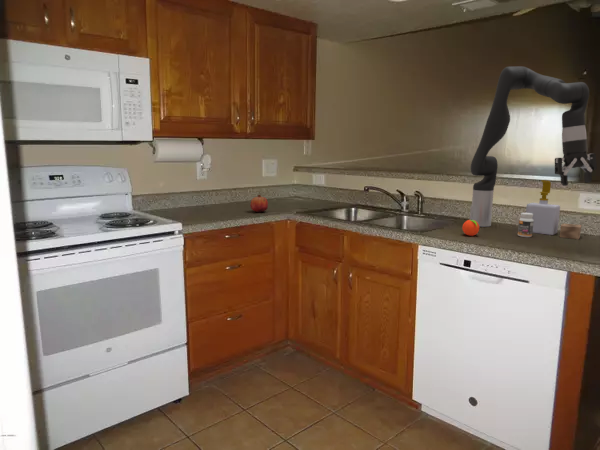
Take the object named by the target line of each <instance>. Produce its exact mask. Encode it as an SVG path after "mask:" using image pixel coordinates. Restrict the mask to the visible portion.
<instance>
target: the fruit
mask: <svg viewBox="0 0 600 450" xmlns="http://www.w3.org/2000/svg"><path fill="white" fill-rule="evenodd" d="M268 208H269V201H268V200H267V198H266V197H264V196H262V195H261V194H257V196H255V197H253V198H252V199H251V201H250V209H251V210H252V211H253V212H257V213H263V212H266V211H267V210H268Z"/></svg>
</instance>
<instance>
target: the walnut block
mask: <svg viewBox="0 0 600 450" xmlns="http://www.w3.org/2000/svg"><path fill="white" fill-rule="evenodd" d="M581 231H582V224H574V223H573V224H571V223H561V225H560V230H559V238H564V239H571V240H579V239H580V237H581Z"/></svg>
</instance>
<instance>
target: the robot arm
mask: <svg viewBox="0 0 600 450" xmlns="http://www.w3.org/2000/svg"><path fill="white" fill-rule="evenodd" d="M589 88H590V87H589V86H588V84H587V83H586V82H583V81H577V82H568V83H567V82H565V80H563V79H561V78H557V77H553V76H549V75H543V74H541V73H538V72H536V71H534V70H533V69H531V68H528V67H526V66H521V65H519V66H511V65H510V66H506V67H504V68H503V69H502V70H501V72H500V75H499V78H498V81H497V85H496V89H495V95H494V99H493V100H492V101H493V102H492V105H491V108H490V111H489V115H488V117H487V119H486V123H485V126H484V129H483V133H482V134H481V138H480V142H479V144H478V146H477V148H476V150H475V152H474V155H473V158H472V159H471V163H470V172H471V174H472V175H473V176H476V177H477V176H478V177H480V176H481V177H482V176H483V178H482V179H481V180H479V181H478V182H475V183H473V185H472V198H471V205H470V206H469V207H470V210H469V220H471V219H472V220H475V221H476V222H477V223H478V224H479V228H480V227H483V228H484V227H487V228H488V227H491V226H492V215H493V214H492V213H493V204H494V203H493V202H494V193H495V192H494V190H495V187H496V186H495V185H496V182H497V181H496V180H497V173H498V160H497V158H496V157H495V156H492V155H491V156H490V155H489V156H488V154H489V152H490V151H491V149H492V148H493V147H495V145H496V144H498V143H499V142H500V141H501V140H502V139H503V138H504V136H505V135H506V134H507V131H508V128H509V125H510V122H511V115H510V114H511V113H510V111H509V106H508V98H509V95H510V92H511V90H513V91H514V90H522V89H525V90H526V89H527V90H528V89H529V90H534V91H535V93H536V94H539V95H541V96H544V97H547V98H550V99H552V100H553V101H554V102H556V103H558V104H562V105H563V104H564V105H565V104H566V105H567V104H571V106H570V109H568V110H565V111H564V112H563V113H562V114H561V128H562V129H561V131H562V132H561V142H562V143H561V145H562V154H563V157H555V158H554V174H555V175H558V176H560V184H561V185H562V186H563V187H566V186H569V183H568V182H569V180H568V179H569V178H568V173H569V172H570V171H571V170H572V169H574V168H580V169H582V170H583V171H584V172H583V174H584V176H583V177H584V183H586V184H587V183H588V184H589V183H591V182H592V180H593V179H592V173H593V171H595V170H597V169H598V166H597V165H598V163H597V154H596V153H595V152H593V153H587V151H588V140H587V139H588V137H587V128H586V116H585V113H586V110H587V105H588V102H589V98H590V89H589ZM563 163H564V164H563Z"/></svg>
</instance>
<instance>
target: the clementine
mask: <svg viewBox="0 0 600 450" xmlns="http://www.w3.org/2000/svg"><path fill="white" fill-rule="evenodd" d="M461 230H462V232H463V233H464V235H467V236H471V237H473V236H475V235H477V234H478V233H479V231H480V226H479V224H478V223H477V222H476V221H475V220H472V219H471V220H470V219H467V220H465V221H464V223H463V224H462V228H461Z"/></svg>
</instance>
